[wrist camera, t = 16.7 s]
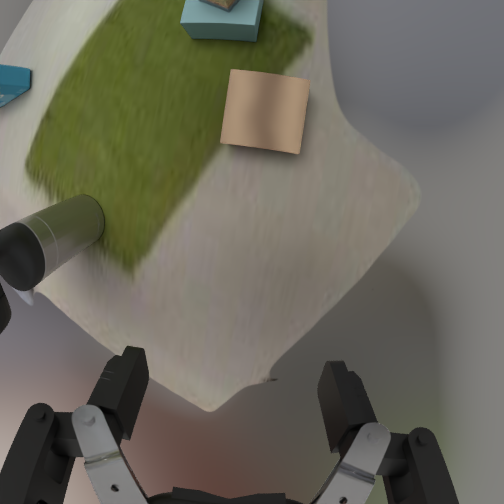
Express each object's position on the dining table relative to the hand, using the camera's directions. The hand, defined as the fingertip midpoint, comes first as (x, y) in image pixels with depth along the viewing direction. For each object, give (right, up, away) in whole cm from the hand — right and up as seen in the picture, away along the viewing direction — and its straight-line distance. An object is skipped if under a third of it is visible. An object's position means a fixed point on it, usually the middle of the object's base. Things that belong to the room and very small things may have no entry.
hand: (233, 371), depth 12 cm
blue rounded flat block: (-49, +39, +24) cm, 67 cm away
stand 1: (-3, +42, +21) cm, 47 cm away
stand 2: (+3, +25, +27) cm, 37 cm away
